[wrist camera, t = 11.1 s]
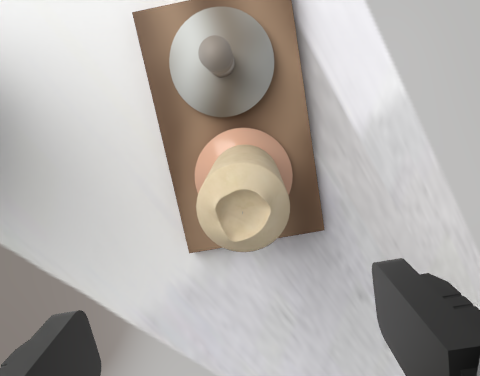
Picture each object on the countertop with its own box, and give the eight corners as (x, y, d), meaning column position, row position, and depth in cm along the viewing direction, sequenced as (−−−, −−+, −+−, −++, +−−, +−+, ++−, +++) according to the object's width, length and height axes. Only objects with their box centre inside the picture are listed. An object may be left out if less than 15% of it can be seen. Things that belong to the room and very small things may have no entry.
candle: (259, 220, 30) (263, 278, 21) (200, 191, 30) (176, 236, 20) (290, 163, 29) (311, 196, 19) (229, 131, 29) (219, 149, 19)
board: (191, 247, 33) (174, 292, 25) (136, 16, 29) (96, -16, 21) (321, 225, 32) (345, 264, 25) (286, -16, 28) (301, -62, 20)
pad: (206, 228, 31) (205, 231, 31) (186, 137, 30) (185, 138, 29) (298, 212, 31) (299, 215, 30) (283, 118, 29) (284, 119, 28)
